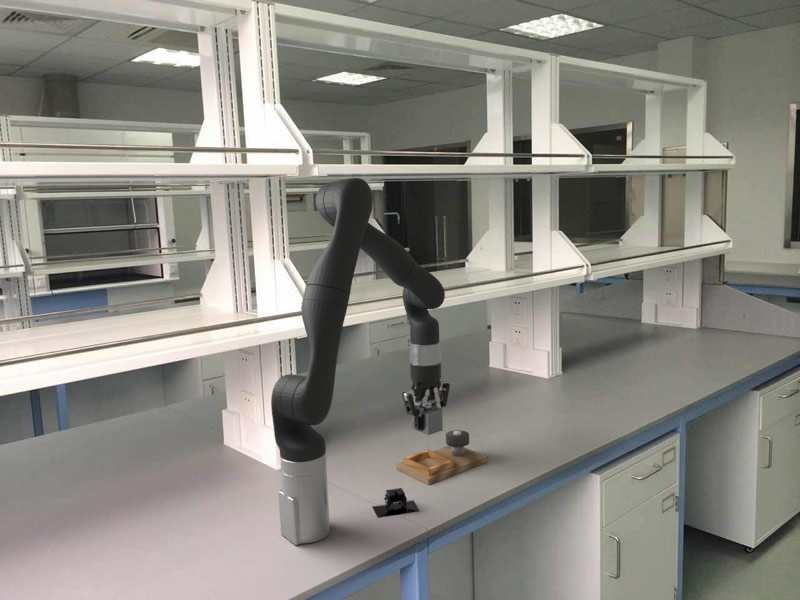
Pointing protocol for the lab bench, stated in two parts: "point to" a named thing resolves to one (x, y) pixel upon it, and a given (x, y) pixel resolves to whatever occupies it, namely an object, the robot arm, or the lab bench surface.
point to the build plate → (395, 504)
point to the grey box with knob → (431, 419)
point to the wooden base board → (440, 463)
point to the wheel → (457, 438)
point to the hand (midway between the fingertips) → (427, 427)
